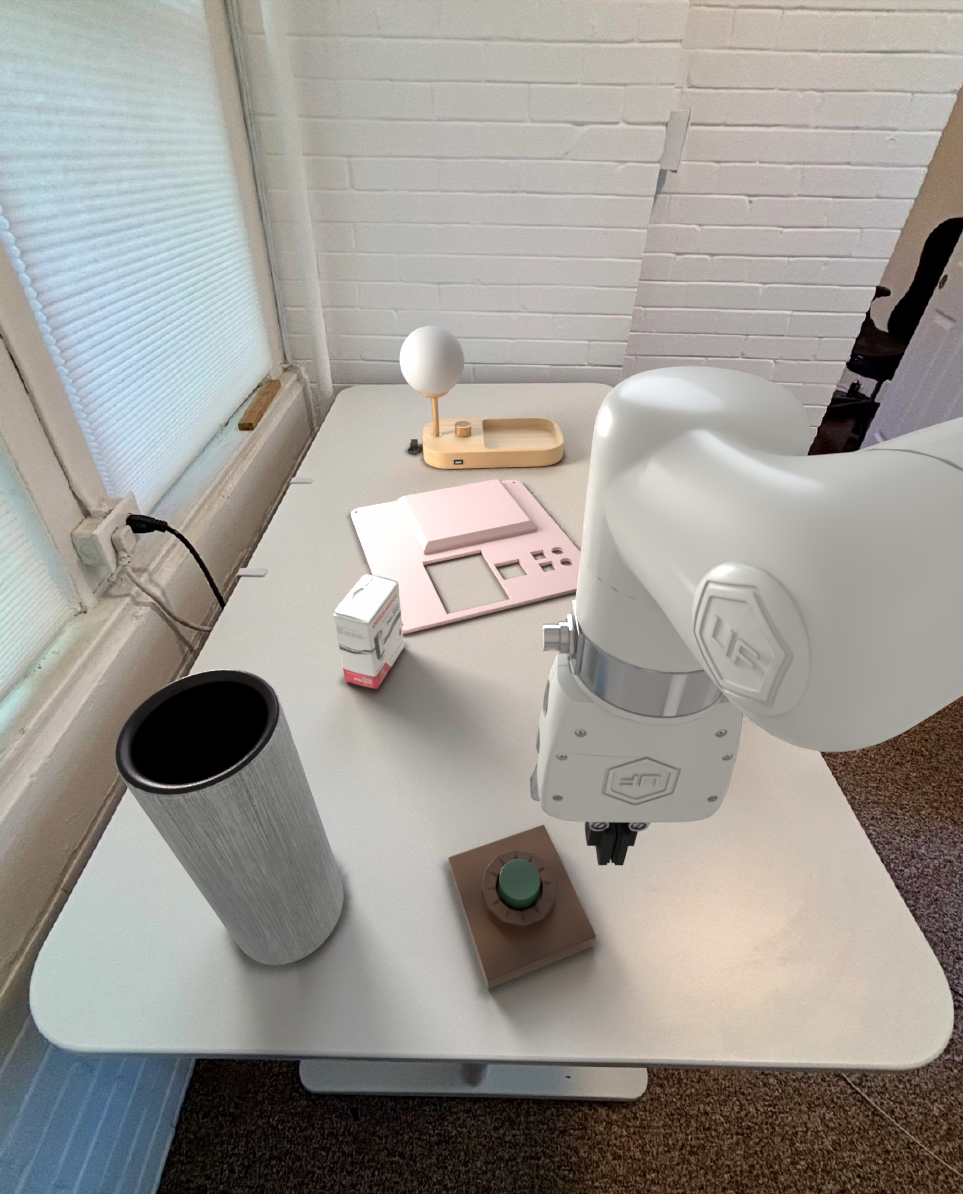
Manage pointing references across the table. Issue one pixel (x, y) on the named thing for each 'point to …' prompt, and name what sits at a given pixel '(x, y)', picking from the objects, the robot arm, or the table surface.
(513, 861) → the button
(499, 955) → the block
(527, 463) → the lamp
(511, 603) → the panel
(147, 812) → the vase
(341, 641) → the ink box
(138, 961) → the table surface
